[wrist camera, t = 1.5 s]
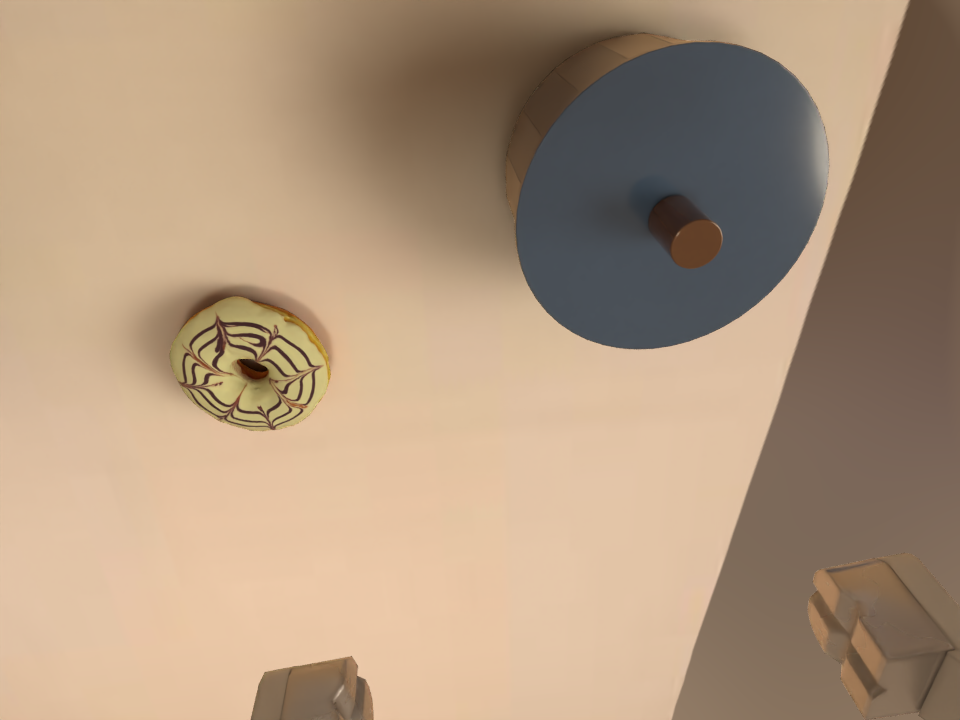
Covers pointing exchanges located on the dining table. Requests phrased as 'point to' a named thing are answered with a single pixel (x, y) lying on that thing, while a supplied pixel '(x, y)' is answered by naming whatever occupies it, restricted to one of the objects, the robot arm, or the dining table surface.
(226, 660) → the dining table surface
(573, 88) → the crock
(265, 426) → the decorated donut
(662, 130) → the crock lid
